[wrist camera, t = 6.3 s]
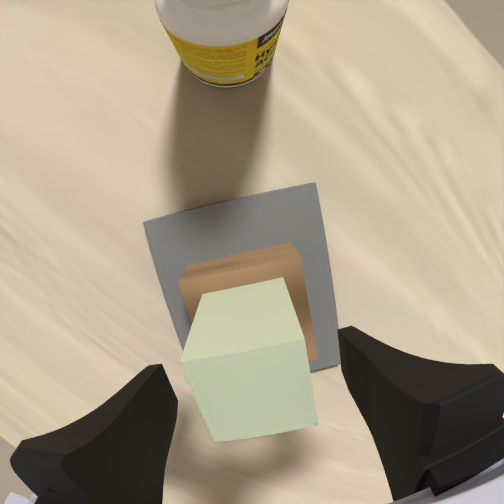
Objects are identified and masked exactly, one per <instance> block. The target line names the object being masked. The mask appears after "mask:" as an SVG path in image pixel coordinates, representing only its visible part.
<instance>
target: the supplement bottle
mask: <svg viewBox="0 0 504 504" xmlns="http://www.w3.org/2000/svg"><path fill="white" fill-rule="evenodd" d="M288 2H289V0H155V7H156V11H157V14H158V16H159V19H160V21H161V23H162V25H163V26H164V28H165V30H166V32H167V34H168V35H169V37H170V39H171V41H172V43H173V45H174V47H175V48H176V50H177V52H178V54H179V56H180V58H181V60H182V61H183V63H184V65H185V67H186V68H187V69H188V71H189V72H190V73H191V74H192V75H193V76H194V77H195V78H197V79H198V80H199V81H201V82H203V83H205V84H208V85H211V86H215V87H237V86H241V85H244V84H247V83H249V82H251V81H253V80H255V79H256V78H258V77H259V76H260V75H262V74H263V73H264V71H265V70H266V69H267V68H268V66H269V65H270V63H271V61H272V59H273V56H274V53H275V49H276V45H277V42H278V38H279V35H280V31H281V27H282V24H283V20H284V17H285V14H286V11H287V6H288Z"/></svg>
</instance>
